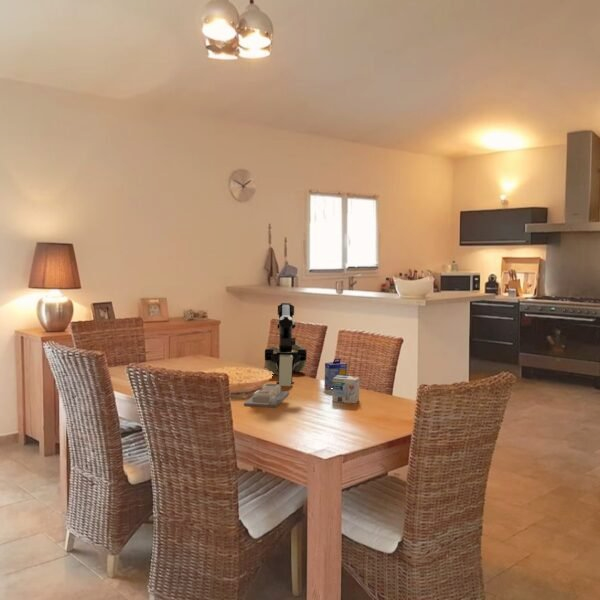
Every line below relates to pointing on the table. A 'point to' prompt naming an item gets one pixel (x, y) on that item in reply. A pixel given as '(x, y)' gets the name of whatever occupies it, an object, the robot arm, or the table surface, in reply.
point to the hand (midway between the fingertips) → (285, 370)
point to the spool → (299, 365)
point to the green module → (285, 370)
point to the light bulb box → (345, 389)
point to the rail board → (273, 404)
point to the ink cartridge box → (334, 371)
